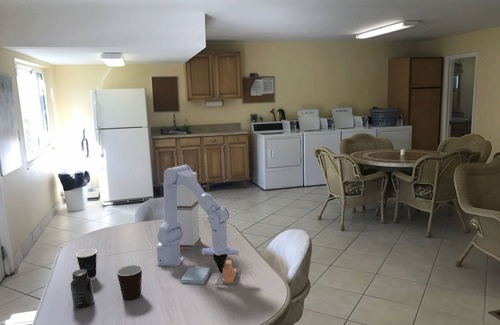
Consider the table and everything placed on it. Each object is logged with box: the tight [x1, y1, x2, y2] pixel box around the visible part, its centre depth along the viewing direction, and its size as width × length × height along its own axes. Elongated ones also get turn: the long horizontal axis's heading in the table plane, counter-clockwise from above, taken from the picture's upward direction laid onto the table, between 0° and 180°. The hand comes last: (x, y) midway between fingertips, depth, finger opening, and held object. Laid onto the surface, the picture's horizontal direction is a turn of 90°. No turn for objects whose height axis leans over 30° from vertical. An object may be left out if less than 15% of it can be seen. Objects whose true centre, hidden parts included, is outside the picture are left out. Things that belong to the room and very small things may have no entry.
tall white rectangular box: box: [177, 171, 202, 251], centre depth 184 cm, size 11×11×35 cm
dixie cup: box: [75, 248, 98, 281], centre depth 154 cm, size 8×8×11 cm
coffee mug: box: [116, 264, 143, 302], centre depth 140 cm, size 12×9×10 cm
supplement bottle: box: [70, 269, 95, 310], centre depth 134 cm, size 7×7×12 cm
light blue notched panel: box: [180, 266, 212, 285], centre depth 152 cm, size 9×11×2 cm
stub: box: [222, 259, 238, 283], centre depth 150 cm, size 4×10×5 cm, turn 172°
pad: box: [215, 270, 242, 286], centre depth 150 cm, size 8×12×1 cm, turn 172°
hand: (221, 271), depth 150 cm, fingers closed
